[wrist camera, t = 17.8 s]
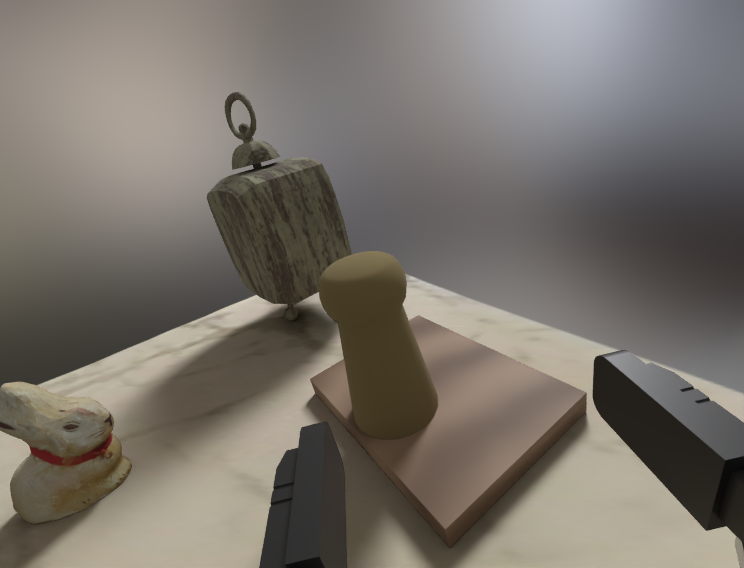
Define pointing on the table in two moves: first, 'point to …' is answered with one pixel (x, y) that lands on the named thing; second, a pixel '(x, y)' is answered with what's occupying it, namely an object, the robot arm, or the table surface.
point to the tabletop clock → (277, 219)
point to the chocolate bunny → (60, 451)
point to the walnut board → (464, 427)
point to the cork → (378, 345)
